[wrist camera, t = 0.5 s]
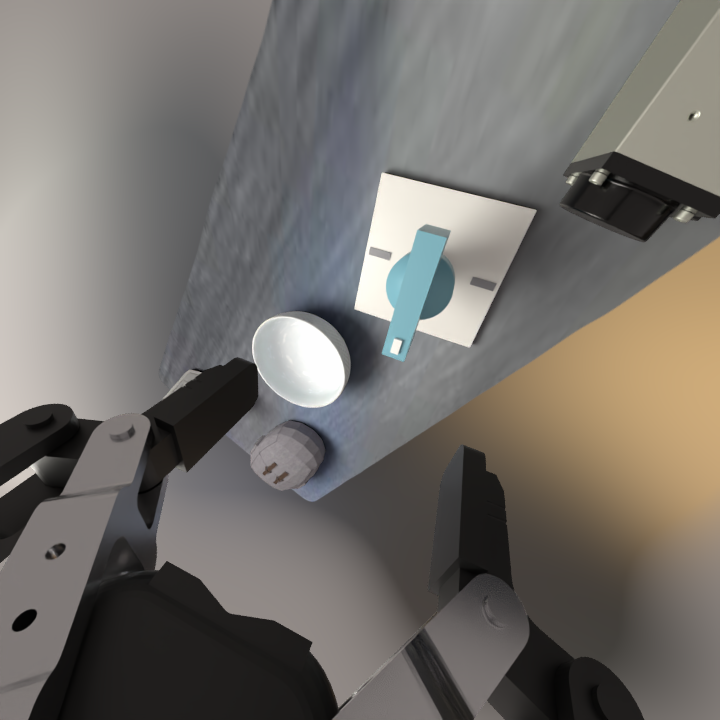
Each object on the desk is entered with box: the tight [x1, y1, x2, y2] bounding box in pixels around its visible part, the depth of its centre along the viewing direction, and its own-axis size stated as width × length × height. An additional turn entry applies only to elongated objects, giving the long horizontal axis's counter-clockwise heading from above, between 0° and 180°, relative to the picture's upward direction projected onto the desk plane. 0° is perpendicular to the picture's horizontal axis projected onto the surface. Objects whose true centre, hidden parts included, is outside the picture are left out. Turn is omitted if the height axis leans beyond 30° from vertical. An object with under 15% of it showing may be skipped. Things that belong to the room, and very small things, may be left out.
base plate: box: [354, 173, 537, 348], centre depth 36 cm, size 18×18×8 cm
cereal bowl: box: [252, 311, 351, 408], centre depth 49 cm, size 17×17×7 cm
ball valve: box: [559, 0, 720, 242], centre depth 19 cm, size 18×8×18 cm, turn 159°
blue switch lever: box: [382, 224, 455, 362], centre depth 29 cm, size 12×7×8 cm, turn 168°
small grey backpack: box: [251, 421, 326, 491], centre depth 65 cm, size 15×8×20 cm
